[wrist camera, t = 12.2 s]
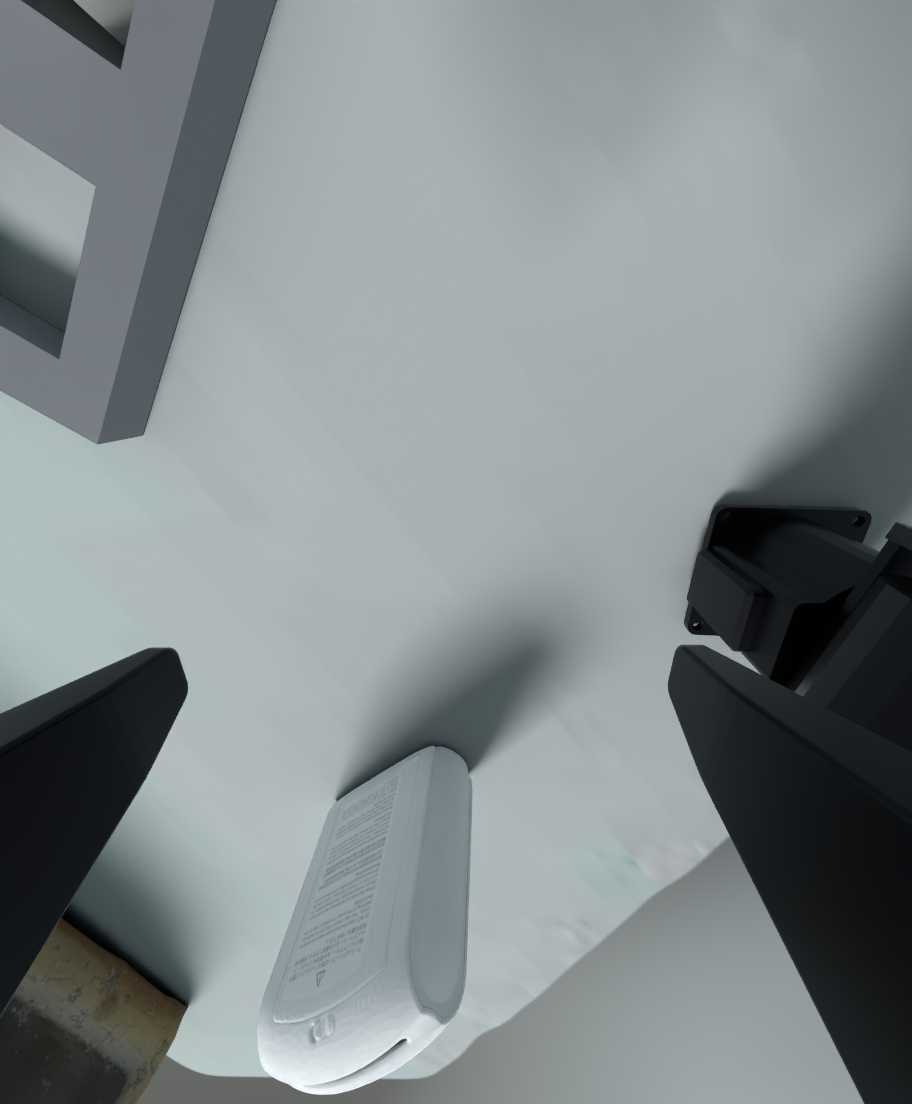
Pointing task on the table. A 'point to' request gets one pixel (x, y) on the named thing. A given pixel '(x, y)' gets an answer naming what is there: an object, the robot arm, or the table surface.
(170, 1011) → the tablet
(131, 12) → the plug
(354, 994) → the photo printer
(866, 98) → the table surface
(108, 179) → the socket plate
